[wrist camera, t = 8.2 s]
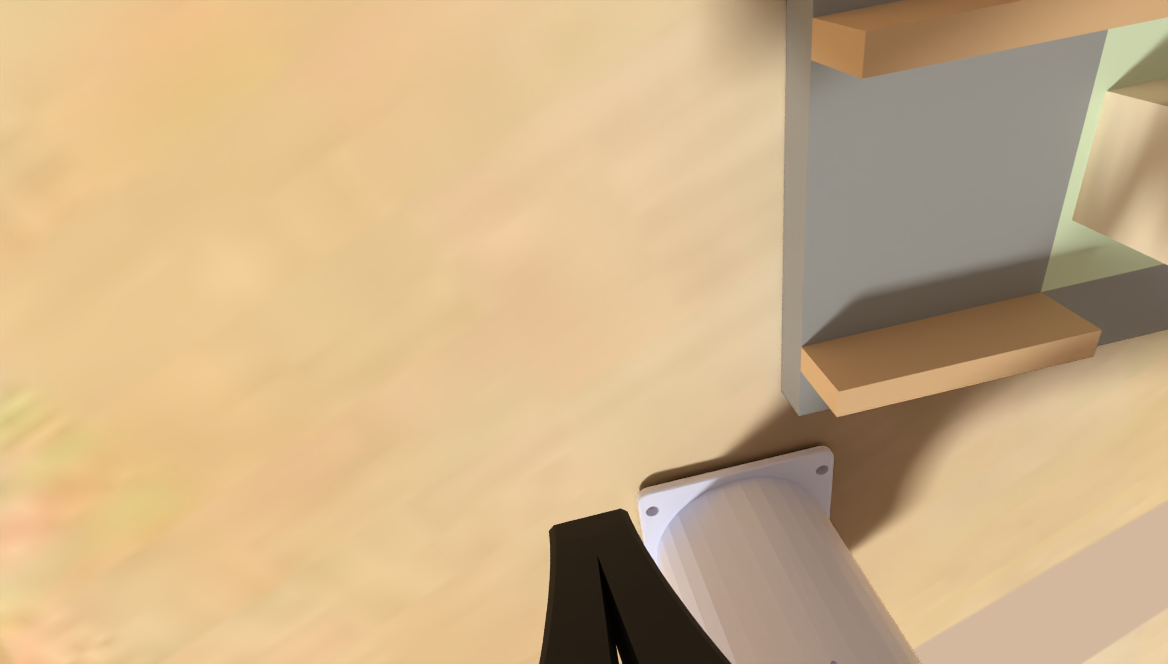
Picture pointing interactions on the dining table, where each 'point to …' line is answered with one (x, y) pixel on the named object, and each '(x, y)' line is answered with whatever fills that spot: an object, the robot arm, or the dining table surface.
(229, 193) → the dining table surface
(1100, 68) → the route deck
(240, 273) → the dining table surface
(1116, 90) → the birch block
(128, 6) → the dining table surface
